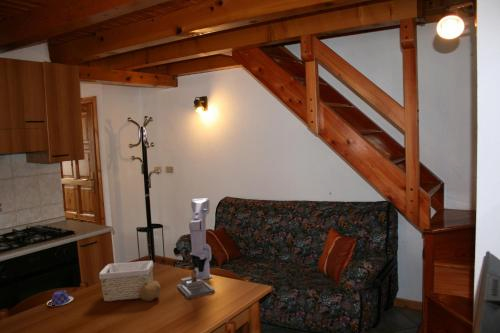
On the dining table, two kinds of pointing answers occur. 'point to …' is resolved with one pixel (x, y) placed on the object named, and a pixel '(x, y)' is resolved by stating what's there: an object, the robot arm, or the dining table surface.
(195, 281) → the press handle
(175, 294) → the dining table surface
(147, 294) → the potato
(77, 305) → the dining table surface
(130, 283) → the storage basket
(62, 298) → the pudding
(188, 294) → the base
